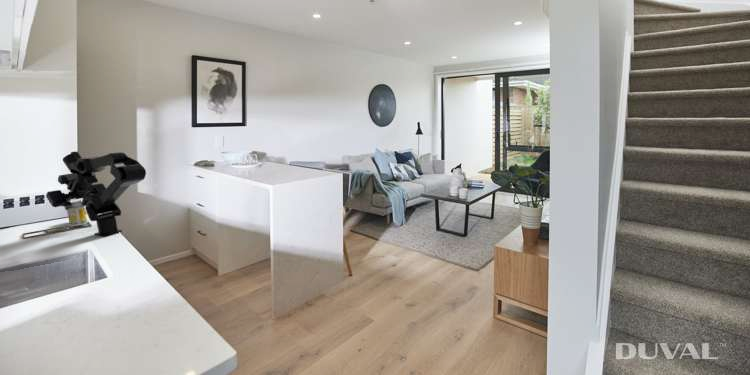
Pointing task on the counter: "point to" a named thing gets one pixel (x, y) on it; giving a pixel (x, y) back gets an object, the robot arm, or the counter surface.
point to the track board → (57, 230)
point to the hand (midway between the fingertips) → (74, 207)
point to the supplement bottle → (77, 213)
